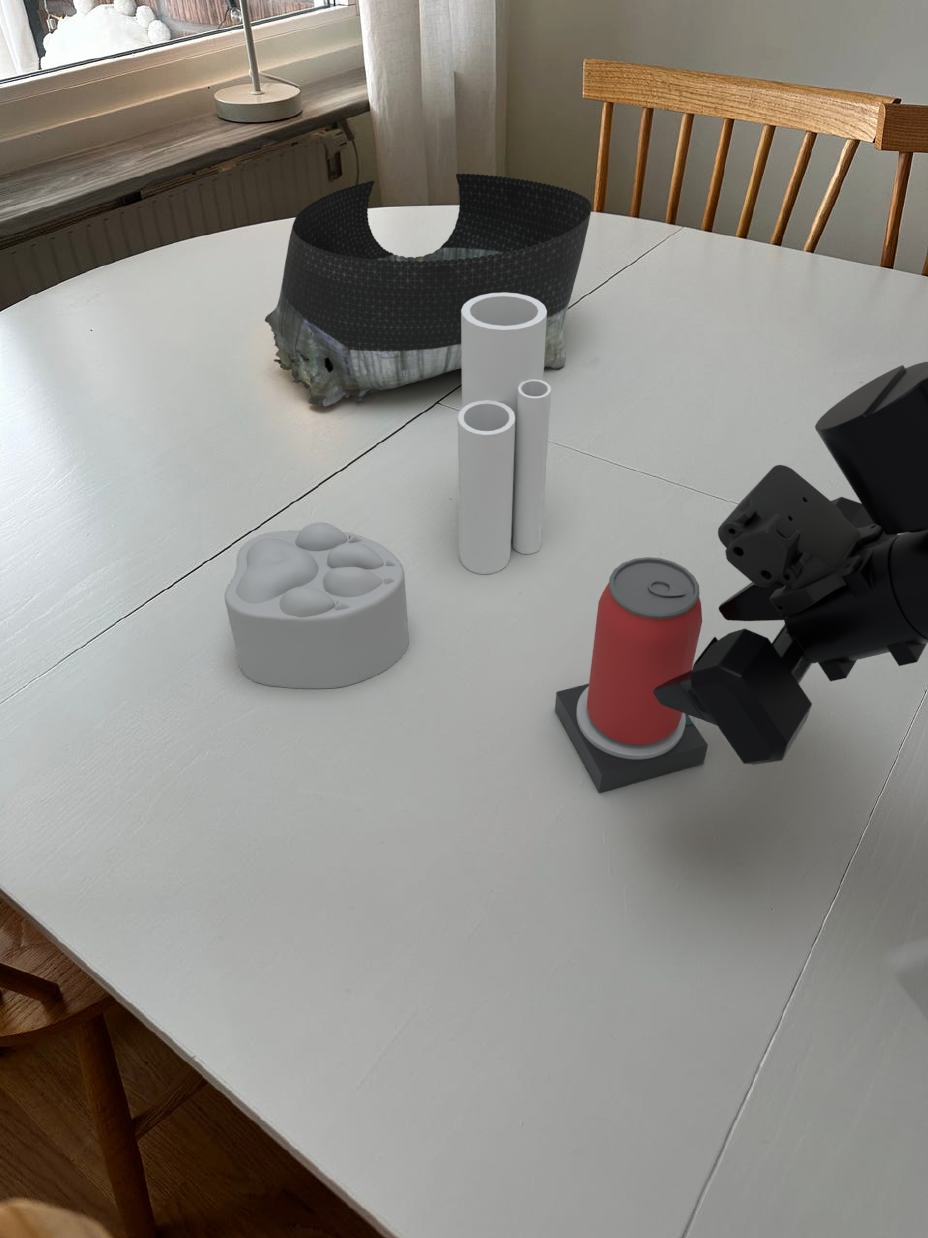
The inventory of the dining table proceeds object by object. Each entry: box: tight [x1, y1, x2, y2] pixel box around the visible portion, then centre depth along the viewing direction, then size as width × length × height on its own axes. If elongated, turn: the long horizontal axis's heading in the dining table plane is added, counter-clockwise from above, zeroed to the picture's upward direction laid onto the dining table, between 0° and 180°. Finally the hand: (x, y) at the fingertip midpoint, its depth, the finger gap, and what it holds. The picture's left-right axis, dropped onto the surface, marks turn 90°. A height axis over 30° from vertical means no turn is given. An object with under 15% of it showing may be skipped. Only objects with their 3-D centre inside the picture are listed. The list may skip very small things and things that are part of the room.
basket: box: [264, 173, 593, 408], centre depth 107 cm, size 28×35×16 cm
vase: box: [457, 293, 552, 575], centre depth 81 cm, size 11×7×20 cm, turn 178°
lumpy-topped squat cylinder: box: [224, 521, 410, 689], centre depth 75 cm, size 10×13×9 cm
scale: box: [554, 683, 709, 794], centre depth 70 cm, size 8×8×2 cm
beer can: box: [587, 556, 703, 745], centre depth 65 cm, size 7×7×12 cm
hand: (691, 652), depth 62 cm, fingers open, 9 cm apart
